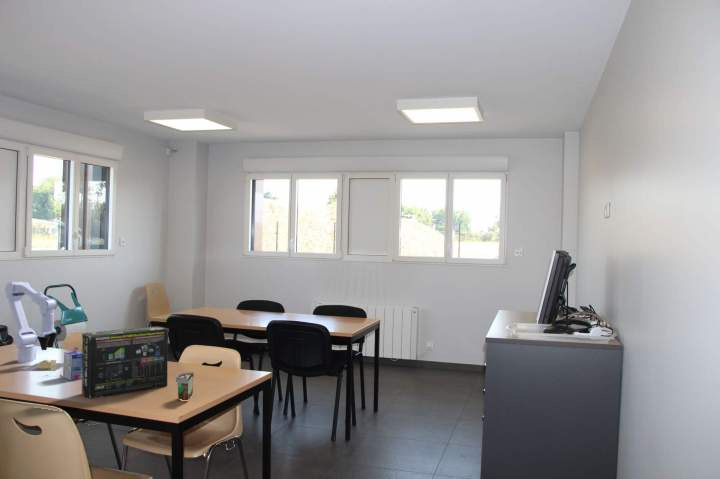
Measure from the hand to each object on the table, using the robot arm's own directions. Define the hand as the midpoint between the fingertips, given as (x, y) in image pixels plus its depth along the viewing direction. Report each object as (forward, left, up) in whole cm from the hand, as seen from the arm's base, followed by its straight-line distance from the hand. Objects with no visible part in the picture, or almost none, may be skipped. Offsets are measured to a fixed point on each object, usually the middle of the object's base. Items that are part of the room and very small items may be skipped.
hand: (47, 348), depth 299 cm
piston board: (+6, +2, -9) cm, 11 cm away
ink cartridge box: (+25, +22, -10) cm, 35 cm away
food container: (+63, +81, -10) cm, 103 cm away
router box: (+48, +53, -10) cm, 72 cm away
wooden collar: (+9, +4, -8) cm, 13 cm away
